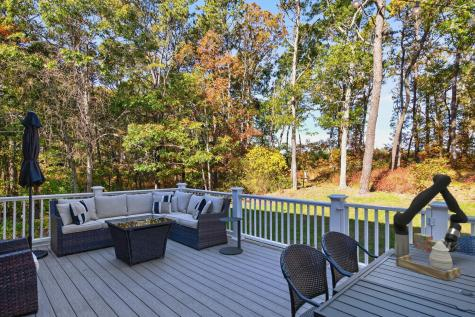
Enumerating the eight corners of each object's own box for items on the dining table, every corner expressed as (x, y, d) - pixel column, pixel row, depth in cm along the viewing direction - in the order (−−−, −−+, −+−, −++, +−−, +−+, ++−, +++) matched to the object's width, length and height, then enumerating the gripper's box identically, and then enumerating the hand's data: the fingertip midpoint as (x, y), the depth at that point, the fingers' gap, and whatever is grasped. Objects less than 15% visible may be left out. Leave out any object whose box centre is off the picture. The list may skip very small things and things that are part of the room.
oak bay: (409, 261, 198) (409, 254, 198) (460, 275, 171) (460, 267, 171) (396, 265, 190) (396, 258, 190) (447, 281, 163) (447, 272, 163)
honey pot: (444, 262, 195) (443, 237, 196) (457, 269, 182) (456, 242, 183) (425, 262, 196) (424, 237, 197) (436, 268, 184) (435, 241, 184)
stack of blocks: (444, 254, 215) (444, 238, 215) (439, 255, 213) (438, 239, 213) (419, 247, 235) (418, 232, 236) (413, 247, 233) (413, 233, 234)
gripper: (440, 231, 204) (432, 250, 197) (461, 234, 193) (453, 254, 186) (443, 237, 206) (436, 256, 200) (464, 241, 195) (457, 261, 188)
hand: (444, 255), depth 193 cm, fingers closed
